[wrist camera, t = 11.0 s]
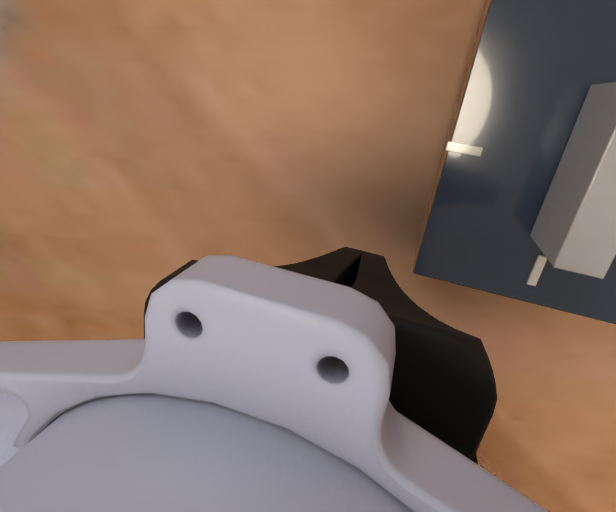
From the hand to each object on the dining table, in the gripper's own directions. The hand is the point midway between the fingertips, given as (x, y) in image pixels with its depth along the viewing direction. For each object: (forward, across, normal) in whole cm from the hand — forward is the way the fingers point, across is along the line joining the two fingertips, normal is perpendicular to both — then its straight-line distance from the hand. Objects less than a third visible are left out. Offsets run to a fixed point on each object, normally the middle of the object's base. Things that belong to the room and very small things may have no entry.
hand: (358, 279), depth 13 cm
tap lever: (+6, -7, -4) cm, 10 cm away
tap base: (+9, -7, -4) cm, 12 cm away
